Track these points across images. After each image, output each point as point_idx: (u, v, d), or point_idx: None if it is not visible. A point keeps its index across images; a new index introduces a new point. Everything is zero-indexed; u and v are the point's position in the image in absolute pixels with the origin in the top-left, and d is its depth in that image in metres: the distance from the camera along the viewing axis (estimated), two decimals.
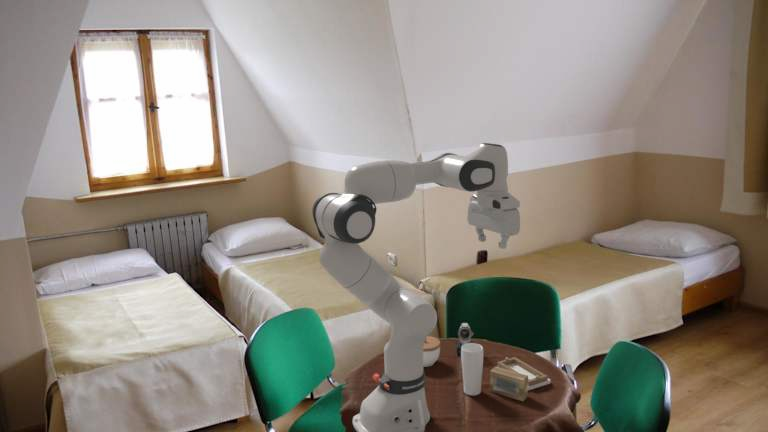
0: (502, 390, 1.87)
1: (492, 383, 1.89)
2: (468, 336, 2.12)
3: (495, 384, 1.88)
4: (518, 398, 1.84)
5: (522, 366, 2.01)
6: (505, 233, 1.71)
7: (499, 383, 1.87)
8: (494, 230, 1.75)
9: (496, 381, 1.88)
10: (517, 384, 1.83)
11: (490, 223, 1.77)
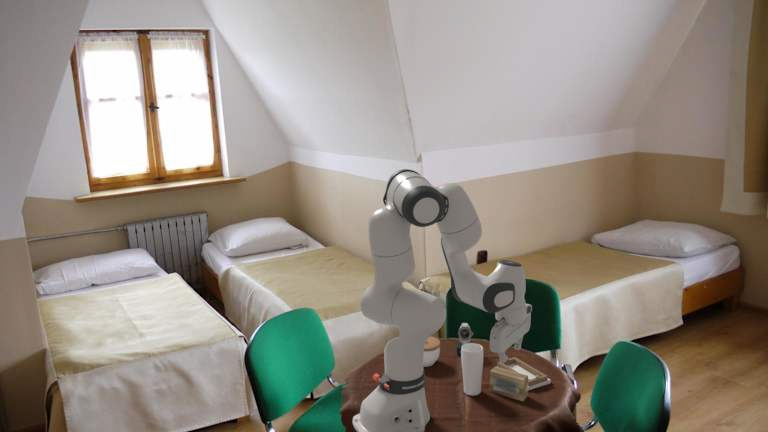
0: (502, 390, 1.87)
1: (492, 383, 1.89)
2: (468, 336, 2.12)
3: (495, 384, 1.88)
4: (518, 398, 1.84)
5: (522, 366, 2.01)
6: (527, 330, 1.89)
7: (499, 383, 1.87)
8: (520, 336, 1.86)
9: (496, 381, 1.88)
10: (517, 384, 1.83)
11: (517, 333, 1.84)
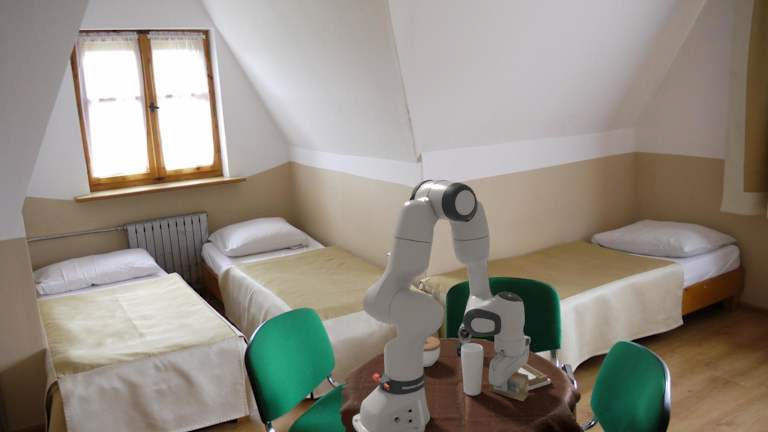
0: None
1: None
2: (468, 336, 2.12)
3: None
4: (518, 398, 1.84)
5: (522, 366, 2.01)
6: (525, 362, 1.91)
7: None
8: (519, 368, 1.88)
9: None
10: (517, 384, 1.83)
11: (516, 365, 1.86)
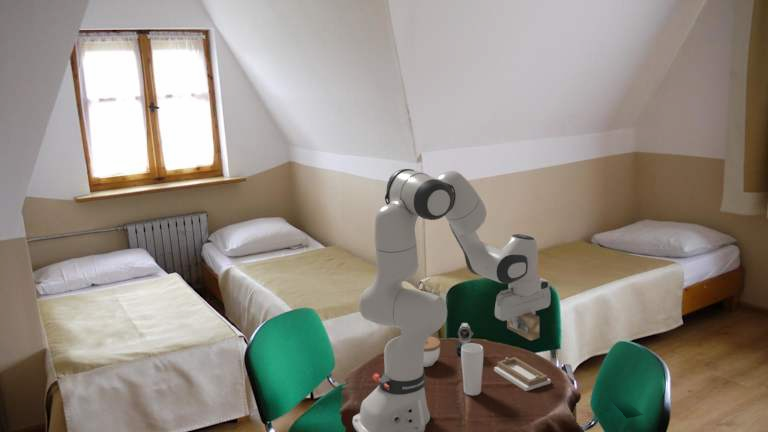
0: None
1: (508, 320, 1.96)
2: (468, 336, 2.12)
3: (510, 321, 1.95)
4: (527, 337, 1.89)
5: (522, 366, 2.01)
6: (546, 306, 1.94)
7: None
8: (534, 309, 1.91)
9: None
10: (526, 323, 1.88)
11: (529, 306, 1.90)
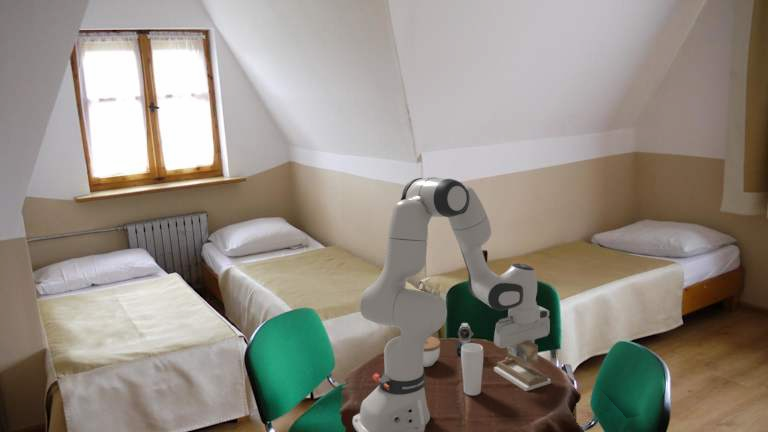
0: None
1: (508, 347, 2.00)
2: (468, 336, 2.12)
3: (510, 349, 1.99)
4: (525, 364, 1.93)
5: (522, 366, 2.01)
6: (545, 335, 1.98)
7: None
8: (533, 338, 1.95)
9: None
10: (525, 351, 1.92)
11: (528, 334, 1.94)
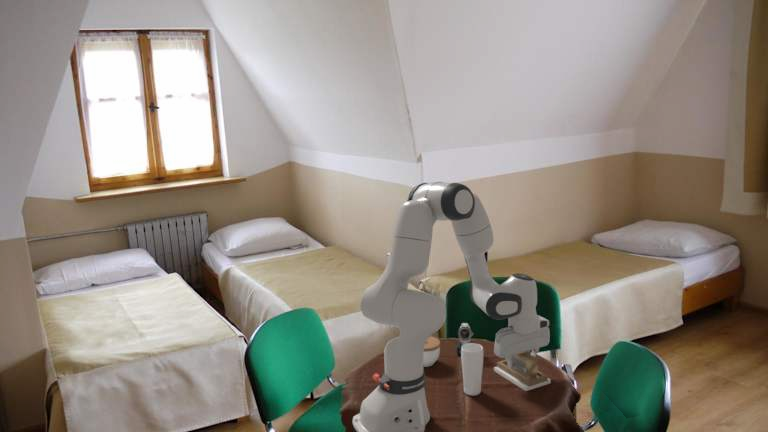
0: (514, 368, 1.98)
1: None
2: (468, 336, 2.12)
3: None
4: None
5: None
6: (545, 344, 1.98)
7: None
8: (533, 347, 1.96)
9: None
10: (525, 364, 1.93)
11: (528, 344, 1.95)
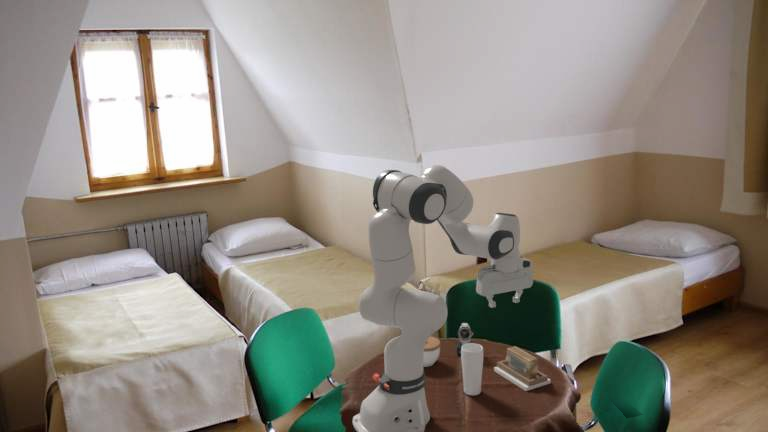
0: (514, 368, 1.98)
1: (508, 360, 2.01)
2: (468, 336, 2.12)
3: (509, 361, 2.00)
4: None
5: None
6: (528, 286, 1.97)
7: (512, 361, 1.98)
8: (516, 288, 1.95)
9: (510, 359, 1.99)
10: (525, 364, 1.93)
11: (511, 284, 1.93)
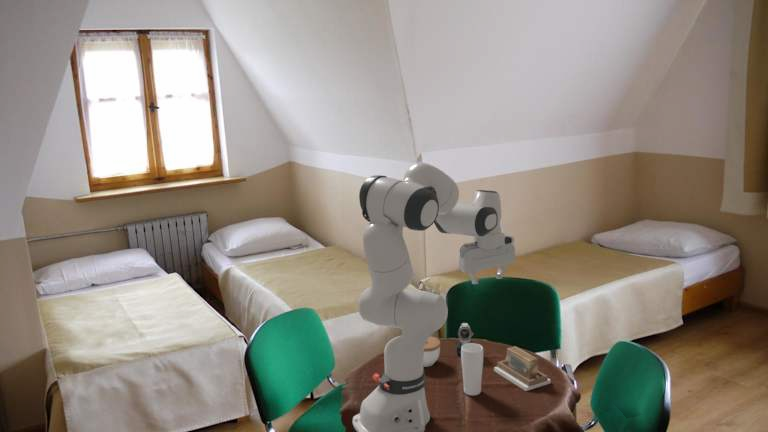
0: (514, 368, 1.98)
1: (508, 360, 2.01)
2: (468, 336, 2.12)
3: (509, 361, 2.00)
4: None
5: None
6: (510, 262, 1.98)
7: (512, 361, 1.98)
8: (498, 264, 1.96)
9: (510, 359, 1.99)
10: (525, 364, 1.93)
11: (493, 261, 1.95)
